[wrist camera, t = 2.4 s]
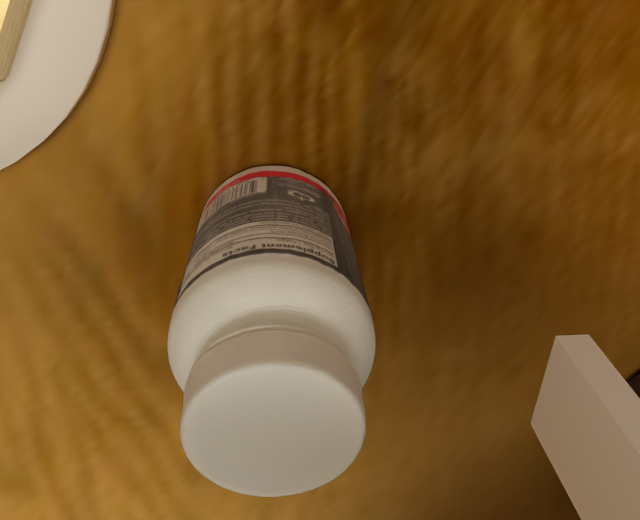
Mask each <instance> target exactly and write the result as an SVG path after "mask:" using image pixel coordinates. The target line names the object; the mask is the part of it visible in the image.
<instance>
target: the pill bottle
mask: <svg viewBox="0 0 640 520" xmlns="http://www.w3.org/2000/svg"><path fill="white" fill-rule="evenodd" d="M375 347H376V343H375V331H374V322H373V316H372V312H371V310H370V307H369V304H368V300H367V297H366V294H365V290H364V287H363V284H362V280H361V276H360V272H359V268H358V264H357V260H356V256H355V251H354V247H353V244H352V239H351V235H350V231H349V228H348V224H347V221H346V217H345V214H344V212H343V209H342V207H341V205H340V203H339V201H338V200H337V198H336V197H335V195H334V194H333V193H332V192H331V190H330V189H329V188H328V187H327V186H326V185H325V184H323V183H322V182H321V181H320V180H318V179H316V178H315V177H313V176H311V175H310V174H307V173H305V172H303V171H301V170H299V169H295V168H291V167H286V166H259V167H254V168H250V169H247V170H245V171H242V172H240V173H238V174H236V175H234V176H232V177H231V178H229V179H228V180H226V181H225V182H224V183H223V184H221V185H220V186H219V187H218V188H217V189H216V190H215V192H214V193H213V194H212V195H211V197H210V198H209V200H208V201H207V203H206V205H205V207H204V209H203V212H202V215H201V217H200V220H199V223H198V226H197V230H196V233H195V238H194V241H193V244H192V248H191V252H190V255H189V259H188V262H187V266H186V269H185V272H184V276H183V279H182V282H181V285H180V286H179V289H178V296H177V300H176V303H175V307H174V310H173V313H172V318H171V323H170V327H169V333H168V358H169V362H170V366H171V370H172V372H173V375H174V377H175V379H176V381H177V383H178V385H179V386H180V388H181V389H182V391H183V392H184V403H183V409H182V415H181V421H180V436H181V442H182V446H183V449H184V451H185V453H186V455H187V457H188V459H189V460H190V462H191V463H192V465H193V466H194V467H195V468H196V469H197V470H198V471H199V472H200V473H201V474H202V475H203V476H204V477H206V478H207V479H209V480H210V481H212V482H214V483H215V484H217V485H219V486H221V487H223V488H226V489H228V490H231V491H234V492H237V493H240V494H245V495H253V496H259V497H279V496H288V495H293V494H299V493H303V492H306V491H309V490H312V489H315V488H317V487H320V486H322V485H324V484H326V483H328V482H330V481H332V480H333V479H335V478H336V477H338V476H339V475H340V474H341V473H343V472H344V471H345V470H346V469H347V468H348V467H349V465H350V464H351V463H352V462H353V461H354V459H355V458H356V456H357V455H358V453H359V451H360V449H361V447H362V444H363V440H364V437H365V432H366V418H365V408H364V402H363V396H362V387H363V386H364V384H365V382H366V381H367V379H368V376H369V374H370V372H371V369H372V365H373V362H374V356H375Z"/></svg>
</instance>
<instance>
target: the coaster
mask: <svg viewBox="0 0 640 520" xmlns="http://www.w3.org/2000/svg"><path fill="white" fill-rule="evenodd" d="M115 4H116V0H33V2H32V5H31V8H30V11H29V14H28V18H27V21H26V24H25V27H24V30H23V33H22V37H21V40H20V43H19V46H18V49H17V52H16V56H15V59H14V62H13V65H12V68H11V71H10V75H9V76H8V77H6V78H7V79H6V80H5V81H3V82H2V83H0V170H1V169H3V168H5V167H7V166H9V165H11V164H13V163H14V162H16V161H18V160H19V159H21V158H22V157H23V156H25V155H26V154H27V153H28V152H30V151H31V150H32V149H34V148H35V147H36V146H38V145H39V144H40V143H42V142H43V141H44V140H45V139H46V138H48V137H49V136H50V135H51V134H52V133H53V132H54V131H55V130H56V129H57V128H58V127H59V126H60V125H61V123H62V122H63V121H64V120H65V119H66V118H67V117H68V116H69V115H70V114H71V113H72V111H73V110H74V108H75V107H76V105H77V104H78V102H79V101H80V99H81V98H82V97H83V95H84V94H85V92H86V91H87V89H88V87H89V85H90V83H91V81H92V79H93V77H94V75H95V73H96V71H97V68H98V66H99V64H100V62H101V60H102V57H103V54H104V51H105V47H106V44H107V41H108V37H109V34H110V31H111V28H112V23H113V16H114V10H115Z"/></svg>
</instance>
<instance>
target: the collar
mask: <svg viewBox="0 0 640 520" xmlns="http://www.w3.org/2000/svg"><path fill="white" fill-rule="evenodd" d="M32 2H33V0H0V83H2V82H3V81H5V80H6V79H7V78H6V77H8V76H9V75H10V71H11V68H12V65H13V62H14V59H15V56H16V52H17V49H18V46H19V43H20V40H21V37H22V33H23V30H24V27H25V24H26V21H27V18H28V14H29V11H30V8H31V5H32Z"/></svg>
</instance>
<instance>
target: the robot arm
mask: <svg viewBox="0 0 640 520" xmlns="http://www.w3.org/2000/svg"><path fill="white" fill-rule="evenodd" d="M530 424H531V426H532V428H533V430H534V431H535V433H536V435H537V437H538V439H539V441H540V443H541V445H542V447H543V449H544V450H545V452H546V454H547V456H548V458H549V460H550V462H551V464H552V466H553V467H554V469H555V471H556V473H557V475H558V477H559V479H560V481H561V483H562V484H563V486H564V488H565V490H566V492H567V494H568V496H569V498H570V500H571V501H572V503H573V505H574V507H575V509H576V511H577V513H578V515H579V517H580V519H581V520H640V374H638V375H637V376H636V377H635V378H633V379H632V380H631V381H630V382H628V383H627V382H626V381H625V379H624V378H623V377H622V376H621V374H620V373H619V372H618V371H617V369H616V368H615V367H614V366H613V364H612V363H611V362H610V361H609V359H608V358H607V357H606V356H605V354H604V353H603V352H602V350H601V349H600V348H599V347H598V345H597V344H596V343H595V342H594V340H593V339H592V338H591V337H590V335H589V334H588V335H562V336H556V337H555V340H554V344H553V347H552V350H551V354H550V357H549V361H548V364H547V368H546V371H545V375H544V378H543V381H542V385H541V388H540V392H539V395H538V399H537V402H536V406H535V409H534V412H533V416H532V419H531V423H530Z"/></svg>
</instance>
